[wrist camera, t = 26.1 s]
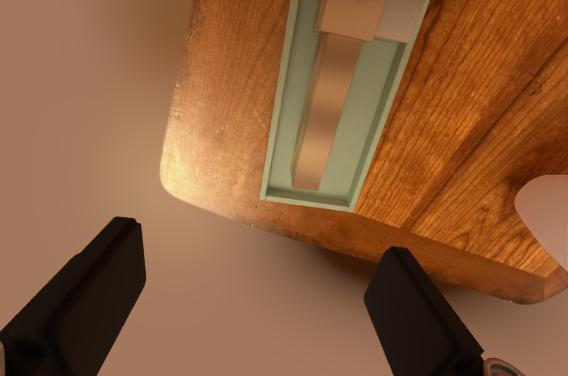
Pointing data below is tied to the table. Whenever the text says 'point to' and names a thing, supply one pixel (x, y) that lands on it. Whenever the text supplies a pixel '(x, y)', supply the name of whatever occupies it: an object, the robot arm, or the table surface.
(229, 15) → the table surface
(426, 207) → the table surface
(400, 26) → the brush
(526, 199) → the cup
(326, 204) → the tray
